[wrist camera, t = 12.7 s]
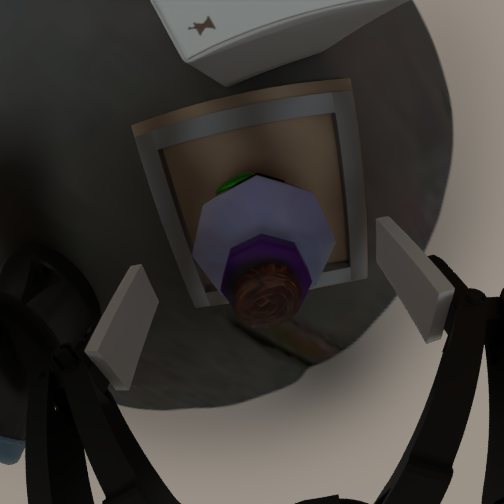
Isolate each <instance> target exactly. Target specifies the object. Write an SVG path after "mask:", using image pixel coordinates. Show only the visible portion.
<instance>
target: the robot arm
mask: <svg viewBox="0 0 504 504" xmlns="http://www.w3.org/2000/svg"><path fill="white" fill-rule="evenodd" d="M376 262H377V264H378V265H379V267H380V268H381V270H382V271H383V273H384V274H385V276H386V277H387V279H388V281H389V282H390V284H391V285H392V287H393V288H394V290H395V292H396V293H397V295H398V296H399V298H400V300H401V301H402V303H403V304H404V306H405V308H406V309H407V311H408V313H409V314H410V316H411V318H412V320H413V321H414V323H415V325H416V326H417V328H418V330H419V332H420V333H421V335H422V337H423V338H424V340H425V342H426V344H427V343H430V342H433V341H436V340H439V339H441V337H442V333H443V330H445V331H446V333H447V334H448V337H447V340H446V343H445V345H444V348H443V354H442V358H441V361H440V364H439V367H438V371H437V374H436V377H435V380H434V383H433V386H432V388H431V391H430V394H429V397H428V400H427V402H426V405H425V408H424V410H423V412H422V415H421V417H420V419H419V422H418V424H417V427H416V429H415V431H414V433H413V436H412V438H411V440H410V442H409V444H408V446H407V448H406V450H405V452H404V454H403V456H402V458H401V460H400V462H399V464H398V466H397V468H396V469H395V471H394V473H393V475H392V476H391V478H390V480H389V481H388V483H387V484H386V486H385V487H384V489H383V490H382V492H381V494H380V495H379V497H378V498H377V500H376V501H375V503H374V504H440V503H441V501H442V499H443V497H444V495H445V493H446V491H447V488H448V486H449V484H450V481H451V478H452V476H453V468H452V465H453V462H454V459H455V457H456V454H457V451H458V449H459V446H460V443H461V440H462V437H463V434H464V431H465V428H466V424H467V421H468V417H469V414H470V410H471V406H472V403H473V399H474V395H475V390H476V386H477V381H478V376H479V371H480V366H481V359H482V353H483V347H484V345H485V350H486V359H487V369H488V384H489V441H488V454H487V464H486V472H485V480H484V486H483V495H482V504H504V288H503V289H502V292H501V294H500V297H486V296H485V294H484V293H483V292H481V291H480V290H477V289H471V288H469V289H468V287H467V286H466V285H465V284H464V283H463V282H462V281H461V279H460V278H459V277H458V276H457V275H456V274H455V273H454V272H453V270H452V269H451V268H450V267H448V265H447V264H446V263H445V262H444V261H443V260H442V259H441V258H439V257H437V256H435V255H430V256H426V254H425V253H424V252H423V251H422V250H421V249H420V248H419V247H418V246H417V245H416V244H415V243H414V242H413V241H412V239H411V238H410V237H409V236H408V235H407V234H406V233H405V232H404V231H403V230H402V229H401V228H400V227H399V226H398V225H397V224H396V223H395V222H394V221H393V220H392V219H391V218H390V217H389V216H386V217H381V218H376ZM158 303H159V300H158V298H157V296H156V294H155V292H154V290H153V288H152V286H151V283H150V281H149V279H148V277H147V275H146V273H145V270H144V268H143V266H142V264H139V265H134V266H130V268H129V270H128V271H127V273H126V275H125V276H124V278H123V280H122V281H121V283H120V285H119V287H118V288H117V290H116V292H115V294H114V295H113V297H112V299H111V301H110V303H109V304H108V306H107V308H106V310H105V312H104V314H103V315H102V316H100V311H99V306H98V303H97V300H96V297H95V295H94V293H93V291H92V289H91V288H90V286H89V284H88V283H87V281H86V280H85V279H84V277H83V276H82V275H81V273H80V272H79V271H78V270H77V269H76V268H75V267H74V266H73V265H72V264H71V263H70V262H69V261H68V260H66V259H65V258H64V257H62V256H61V255H60V254H58V253H57V252H55V251H53V250H51V249H49V248H46V247H44V246H40V245H26V246H23V247H21V248H20V249H18V250H17V251H16V252H15V253H14V254H13V255H12V256H11V257H10V258H9V259H8V260H7V262H6V263H5V265H4V267H3V269H2V272H1V274H0V462H1V463H4V464H7V465H11V464H15V463H17V462H18V460H19V459H20V457H21V454H22V452H23V450H24V448H26V449H25V459H26V460H25V461H26V484H27V496H28V504H94V501H93V496H92V492H91V487H90V482H89V477H88V471H87V466H86V459H85V452H84V449H85V451H86V454H87V456H88V459H89V461H90V464H91V466H92V468H93V471H94V473H95V475H96V477H97V479H98V481H99V484H100V486H101V488H102V490H103V492H104V494H105V496H106V499H105V500H104V501H102V502H103V503H102V504H181V503H179V502H178V501H177V500H176V498H175V497H174V496H173V495H172V493H171V492H170V490H169V489H168V488H167V486H166V485H165V484H164V482H163V481H162V479H161V478H160V476H159V475H158V474H157V472H156V471H155V469H154V468H153V466H152V465H151V463H150V462H149V460H148V458H147V457H146V455H145V454H144V452H143V450H142V449H141V447H140V446H139V444H138V442H137V441H136V439H135V437H134V435H133V434H132V432H131V430H130V429H129V427H128V425H127V423H126V421H125V419H124V418H123V416H122V414H121V412H120V410H119V408H118V406H117V404H116V402H115V400H114V398H113V396H112V394H111V392H110V391H109V390H108V389H107V388H108V385H109V383H110V384H111V385H112V386H113V387H114V388H115V390H129V389H130V385H131V382H132V379H133V376H134V373H135V370H136V366H137V363H138V360H139V357H140V354H141V351H142V348H143V345H144V342H145V339H146V337H147V334H148V331H149V328H150V325H151V322H152V320H153V317H154V314H155V311H156V309H157V306H158ZM78 352H79V353H78ZM55 408H56V410H55ZM295 504H368V503H365V502H362V501H358V500H352V499H339V496H338V495H333V496H327V497H322V498H316V499H310V500H304V501H301V502H298V503H295Z"/></svg>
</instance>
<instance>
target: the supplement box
mask: <svg viewBox="0 0 504 504" xmlns="http://www.w3.org/2000/svg"><path fill="white" fill-rule="evenodd" d="M150 1H151V3H152V5H153V7H154V8H155V10H156V12H157V14H158V16H159V17H160V19H161V21H162V23H163V25H164V27H165V29H166V31H167V32H168V34H169V36H170V38H171V40H172V42H173V43H174V45H175V47H176V49H177V51H178V53H179V54H180V56H181V58H182V60H183V61H184V62H186V63H188V64H189V65H191V66H193V67H194V68H196V69H197V70H199V71H201V72H202V73H204V74H206V75H207V76H209V77H210V78H212V79H213V80H215V81H217V82H218V83H220V84H221V85H223V86H225V87H226V88H228V87H231V86H233V85H235V84H238V83H240V82H242V81H245V80H247V79H249V78H252V77H254V76H257V75H259V74H262V73H264V72H267V71H270V70H272V69H275V68H278V67H280V66H283V65H286V64H289V63H292V62H295V61H298V60H301V59H304V58H306V57H309V56H312V55H315V54H318V53H321V52H323V51H325V50H327V49H328V48H330V47H331V46H333V45H334V44H336V43H337V42H339V41H340V40H342V39H343V38H345V37H346V36H348V35H349V34H351V33H352V32H354V31H355V30H357V29H359V28H360V27H362V26H363V25H365V24H367V23H368V22H370V21H372V20H374V19H375V18H377V17H379V16H381V15H382V14H384V13H386V12H388V11H390V10H392V9H393V8H395V7H397V6H399V5H401V4H403V3H405V2H407V1H409V0H150Z"/></svg>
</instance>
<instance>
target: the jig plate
mask: <svg viewBox="0 0 504 504" xmlns="http://www.w3.org/2000/svg"><path fill="white" fill-rule="evenodd" d="M131 127H132V130H133V134H134V138H135V142H136V145H137V148H138V152H139V155H140V158H141V162H142V165H143V168H144V171H145V174H146V177H147V181H148V184H149V187H150V190H151V193H152V196H153V199H154V202H155V205H156V208H157V210H158V213H159V216H160V219H161V222H162V225H163V227H164V230H165V233H166V236H167V238H168V241H169V244H170V246H171V249H172V252H173V254H174V257H175V260H176V262H177V265H178V267H179V270H180V272H181V275H182V277H183V280H184V282H185V285H186V287H187V290H188V292H189V295H190V297H191V299H192V302H193V304H194V307H195V308H201V307H208V306H215V305H221V304H228V303H229V301H228V300H227V299H226V297H225V296H224V295H221V294H220V292H219V291H218V290H217V288H216V287H215V286H214V285H213V283H212V282H211V281H210V279H209V278H208V277H207V275H206V274H205V273H204V271H203V270H202V269H201V267H200V266H199V264H198V263H197V262H196V260H195V259H194V258H193V256H192V253H193V248H194V243H195V239H196V234H197V229H198V225H199V220H200V216H201V212H202V207H203V205H204V204H206V203H207V202H209V201H210V200H212V199H213V198H215V197H216V196H218V195H220V194H221V193H223V192H225V191H227V190H229V189H230V188H232V187H233V186H232V187H230V188H229V189H227V190H225V191H223V192H221V193H220V194H218V195H216V190H217V189H218V188H219V187H220V186H221V185H222V184H223V183H224V182H226V181H227V180H228V179H229V178H231V177H233V176H235V175H238V174H241V173H244V172H253V173H254V174H256V173H260V174H264V175H267V176H271V177H274V178H278V179H281V180H284V181H285V183H288V184H291V185H294V186H298V187H300V188H302V189H304V190H307V191H309V192H311V193H313V194H315V196H316V199H317V201H318V203H319V205H320V207H321V209H322V211H323V213H324V216H325V218H326V220H327V222H328V224H329V226H330V229H331V231H332V233H333V235H334V238H335V240H336V243H335V246H334V248H333V250H332V252H331V254H330V256H329V259H328V261H327V263H326V265H325V267H324V269H323V271H322V273H321V276H320V278H319V280H318V282H317V284H316V286H314V287H312V288H309V290H310V289H315V288H321V287H326V286H331V285H336V284H341V283H346V282H351V281H356V280H360V279H365V278H367V220H366V200H365V186H364V173H363V163H362V153H361V144H360V136H359V128H358V121H357V114H356V108H355V102H354V96H353V90H352V84H351V79H350V78H347V79H334V80H323V81H314V82H305V83H298V84H290V85H284V86H277V87H271V88H266V89H260V90H255V91H250V92H245V93H240V94H236V95H231V96H227V97H223V98H218V99H214V100H210V101H207V102H203V103H199V104H195V105H192V106H188V107H185V108H181V109H178V110H175V111H172V112H168V113H165V114H162V115H159V116H156V117H153V118H150V119H147V120H145V121H142V122H139V123H136V124H134V125H131Z"/></svg>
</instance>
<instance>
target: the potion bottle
mask: <svg viewBox="0 0 504 504" xmlns="http://www.w3.org/2000/svg"><path fill="white" fill-rule="evenodd" d="M232 186H233V187H232ZM230 187H232V188H230ZM229 188H230V189H229ZM227 189H229V190H227ZM225 190H227V191H225ZM223 191H225V192H223ZM221 192H223V193H221ZM220 193H221V194H220ZM218 194H220V195H218ZM216 195H218V196H216V197H215V198H213V199H212V200H210V201H209V202H207V203H206V204H204V205H203V207H202V212H201V216H200V220H199V225H198V229H197V234H196V239H195V243H194V248H193V253H192V256H193V258H194V259H195V260H196V262H197V263H198V264H199V266H200V267H201V269H202V270H203V271H204V273H205V274H206V275H207V277H208V278H209V279H210V281H211V282H212V283H213V285H214V286H215V287H216V288H217V290H218V291H219V292H220V294H221V295H224V296H225V297H226V299H227V300H228V301H229V303H230V304H231V305H232V307H233V308H234V312H235V314H236V315H237V316H238V317H239V319H240V320H241V321H242V322H244V323H245V324H247V325H249V326H251V327H256V328H268V327H273V326H278V325H280V324H282V323H284V322H286V321H287V320H289V319H290V318H291V317H292V316H294V315H295V314H296V313H297V312H298V310H299V308H300V306H301V304H302V302H303V300H304V298H305V296H306V294H307V292H308V290H309V288H312V287H314V286H316V284H317V282H318V280H319V278H320V276H321V273H322V271H323V269H324V267H325V265H326V263H327V261H328V259H329V256H330V254H331V252H332V250H333V248H334V246H335V243H336V240H335V238H334V235H333V233H332V231H331V229H330V226H329V224H328V222H327V220H326V218H325V216H324V213H323V211H322V209H321V207H320V205H319V203H318V201H317V199H316V196H315V194H313V193H311V192H309V191H307V190H304V189H302V188H300V187H298V186H294V185H291V184H288V183H285V181H284V180H281V179H278V178H274V177H271V176H267V175H264V174H260V173H256V174H254V173H253V172H244V173H241V174H238V175H235V176H233V177H231V178H229V179H228V180H227V181H226V182H224V183H223V184H222V185H221V186H220V187H219V188H218V189H217V190H216Z"/></svg>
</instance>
